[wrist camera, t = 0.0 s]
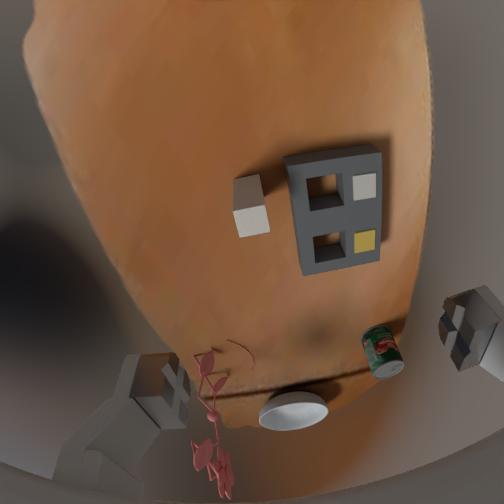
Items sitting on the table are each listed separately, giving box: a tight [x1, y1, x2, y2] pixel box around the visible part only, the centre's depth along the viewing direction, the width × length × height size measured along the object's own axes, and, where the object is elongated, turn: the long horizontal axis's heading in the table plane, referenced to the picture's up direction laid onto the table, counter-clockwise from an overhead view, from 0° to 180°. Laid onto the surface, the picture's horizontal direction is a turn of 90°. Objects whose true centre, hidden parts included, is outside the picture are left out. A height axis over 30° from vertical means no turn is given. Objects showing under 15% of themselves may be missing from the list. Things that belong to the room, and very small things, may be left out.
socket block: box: [283, 144, 382, 276], centre depth 48 cm, size 20×14×4 cm
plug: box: [233, 174, 270, 238], centre depth 44 cm, size 4×4×10 cm
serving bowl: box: [259, 391, 328, 430], centre depth 86 cm, size 21×21×7 cm
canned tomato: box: [361, 325, 404, 380], centre depth 67 cm, size 8×8×11 cm
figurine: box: [191, 340, 253, 499], centre depth 61 cm, size 15×26×35 cm, turn 9°
